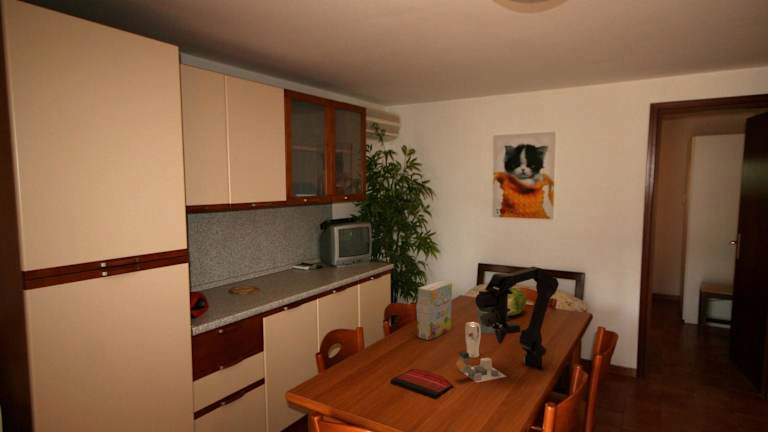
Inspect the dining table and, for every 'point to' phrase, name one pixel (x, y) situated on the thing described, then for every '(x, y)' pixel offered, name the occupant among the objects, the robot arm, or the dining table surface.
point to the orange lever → (465, 367)
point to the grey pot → (483, 328)
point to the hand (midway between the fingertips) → (499, 343)
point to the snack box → (434, 310)
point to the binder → (422, 383)
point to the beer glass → (472, 338)
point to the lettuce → (516, 301)
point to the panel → (486, 377)
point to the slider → (486, 363)
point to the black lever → (464, 356)
